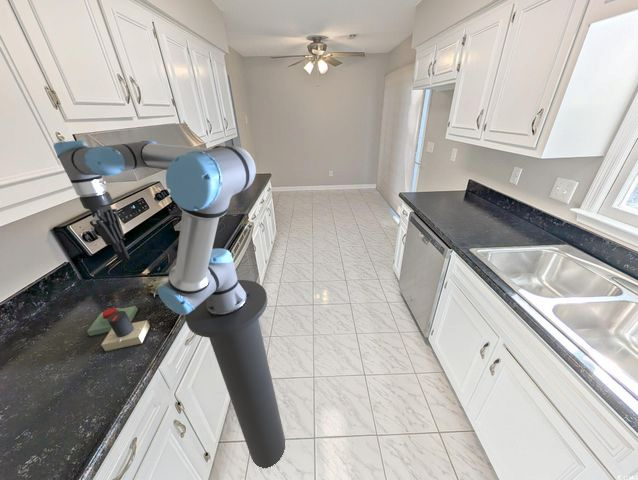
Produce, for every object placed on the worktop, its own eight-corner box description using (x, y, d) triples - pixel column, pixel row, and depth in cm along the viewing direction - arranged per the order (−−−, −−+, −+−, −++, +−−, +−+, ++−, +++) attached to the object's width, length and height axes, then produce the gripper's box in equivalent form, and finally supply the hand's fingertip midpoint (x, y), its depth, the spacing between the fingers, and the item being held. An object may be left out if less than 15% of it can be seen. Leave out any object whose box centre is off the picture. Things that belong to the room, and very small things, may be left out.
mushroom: (146, 298, 107) (141, 288, 105) (156, 285, 116) (151, 275, 113) (181, 294, 108) (178, 283, 106) (188, 281, 117) (185, 271, 115)
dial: (120, 328, 88) (111, 311, 85) (136, 324, 89) (128, 308, 86) (113, 338, 84) (103, 322, 80) (130, 335, 84) (121, 318, 81)
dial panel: (150, 325, 93) (147, 318, 91) (141, 344, 85) (137, 337, 83) (117, 332, 91) (113, 325, 89) (104, 352, 82) (99, 345, 81)
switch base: (138, 310, 101) (134, 302, 99) (127, 328, 92) (123, 320, 90) (103, 316, 98) (99, 308, 97) (89, 336, 90) (84, 327, 88)
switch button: (119, 310, 96) (117, 306, 95) (114, 317, 92) (112, 313, 91) (107, 312, 95) (105, 309, 94) (102, 320, 91) (100, 316, 91)
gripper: (96, 197, 74) (129, 266, 84) (116, 187, 85) (143, 248, 96) (66, 201, 72) (103, 270, 83) (91, 190, 84) (120, 252, 94)
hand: (124, 258), depth 89 cm, fingers closed
